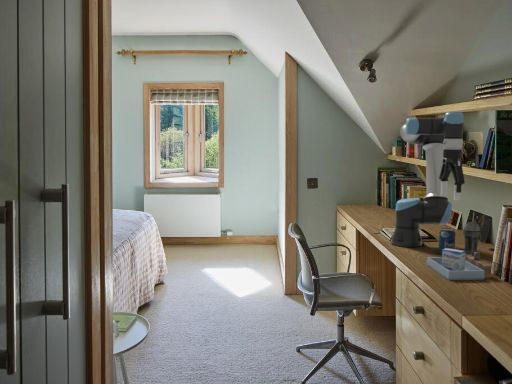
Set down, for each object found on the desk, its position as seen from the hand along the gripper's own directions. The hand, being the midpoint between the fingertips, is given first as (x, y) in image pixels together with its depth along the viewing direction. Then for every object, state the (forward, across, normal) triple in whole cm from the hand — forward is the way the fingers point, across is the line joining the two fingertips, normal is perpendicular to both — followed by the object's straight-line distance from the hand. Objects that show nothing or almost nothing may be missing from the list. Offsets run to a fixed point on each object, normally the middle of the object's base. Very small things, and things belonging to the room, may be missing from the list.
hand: (450, 198), depth 216 cm
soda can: (+29, -13, +5) cm, 32 cm away
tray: (+28, +17, -5) cm, 33 cm away
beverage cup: (+29, -12, +16) cm, 35 cm away
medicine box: (+28, +17, -5) cm, 33 cm away
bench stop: (+28, +17, +4) cm, 33 cm away
